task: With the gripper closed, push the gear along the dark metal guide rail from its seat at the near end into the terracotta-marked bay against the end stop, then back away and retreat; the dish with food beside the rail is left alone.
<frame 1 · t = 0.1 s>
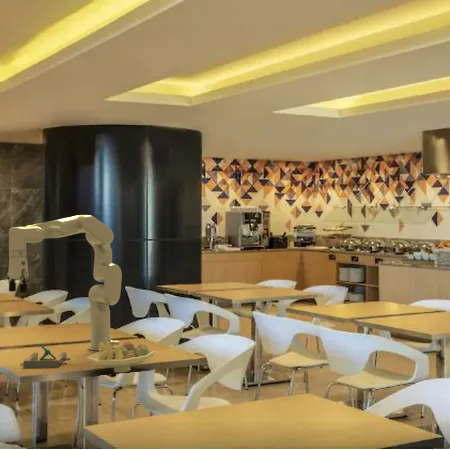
hand: (17, 292, 341), 31 cm above the table, tool pointing down, fingers open, 9 cm apart
dish with food: (121, 371, 315), on the table
gear: (47, 360, 342), on the table
rail: (45, 362, 336), on the table
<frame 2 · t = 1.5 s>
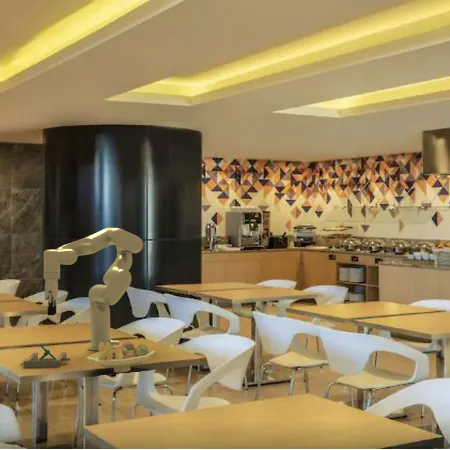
hand: (52, 314, 354), 19 cm above the table, tool pointing down, fingers open, 4 cm apart
nothing on the table moved.
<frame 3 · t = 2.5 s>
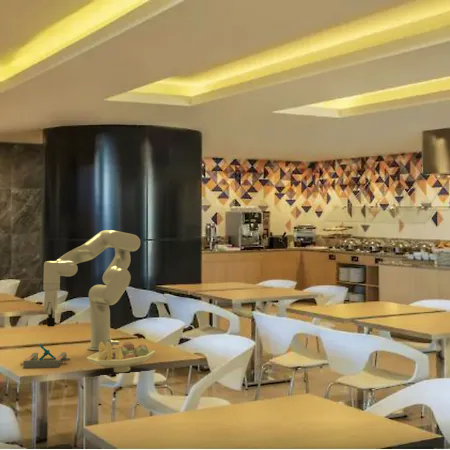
hand: (50, 326, 354), 14 cm above the table, tool pointing down, fingers closed
nothing on the table moved.
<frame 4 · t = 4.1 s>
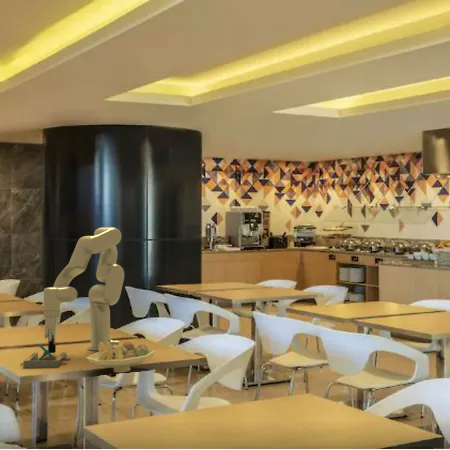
hand: (51, 352, 354), 1 cm above the table, tool pointing down, fingers closed
nothing on the table moved.
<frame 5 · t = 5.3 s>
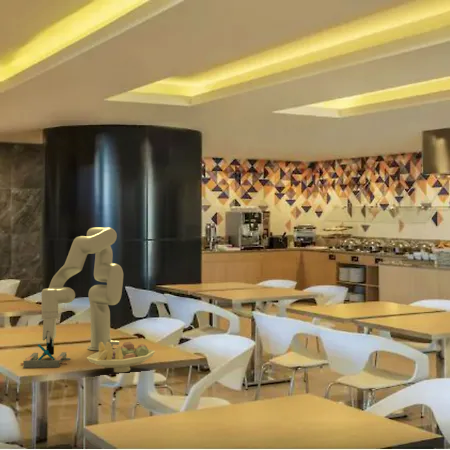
hand: (50, 354, 348), 1 cm above the table, tool pointing down, fingers closed
gear: (46, 360, 341), on the table, touching gripper
everything else where it was.
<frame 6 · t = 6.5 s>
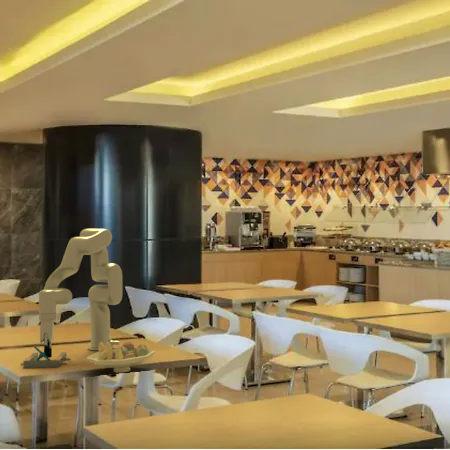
hand: (47, 357, 342), 1 cm above the table, tool pointing down, fingers closed
gear: (42, 363, 336), on the table, touching gripper
everything else where it was.
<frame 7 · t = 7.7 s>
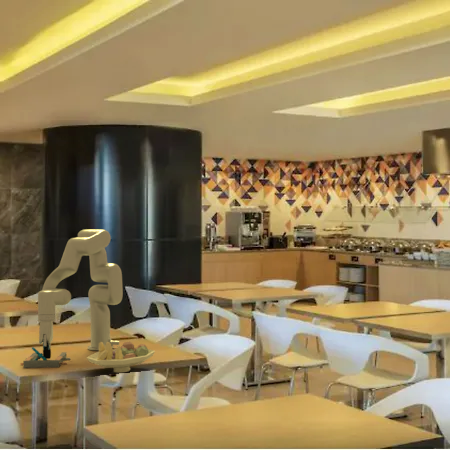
hand: (46, 358, 339), 1 cm above the table, tool pointing down, fingers closed
gear: (40, 364, 333), on the table
everything else where it was.
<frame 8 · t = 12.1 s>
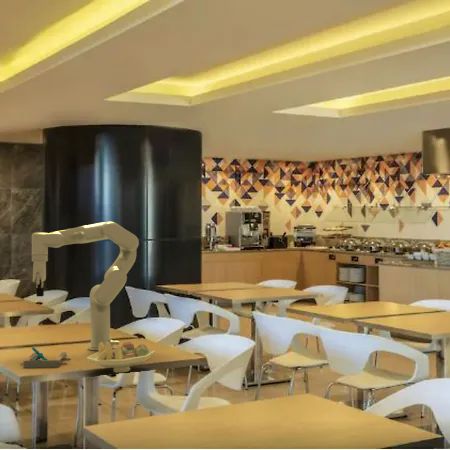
hand: (40, 296, 362), 27 cm above the table, tool pointing down, fingers closed
nothing on the table moved.
at the end: gear inside the target area (3.3 cm from its centre), on the table; gear moved 8.7 cm from its start; dish with food moved 0.3 cm from its start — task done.
